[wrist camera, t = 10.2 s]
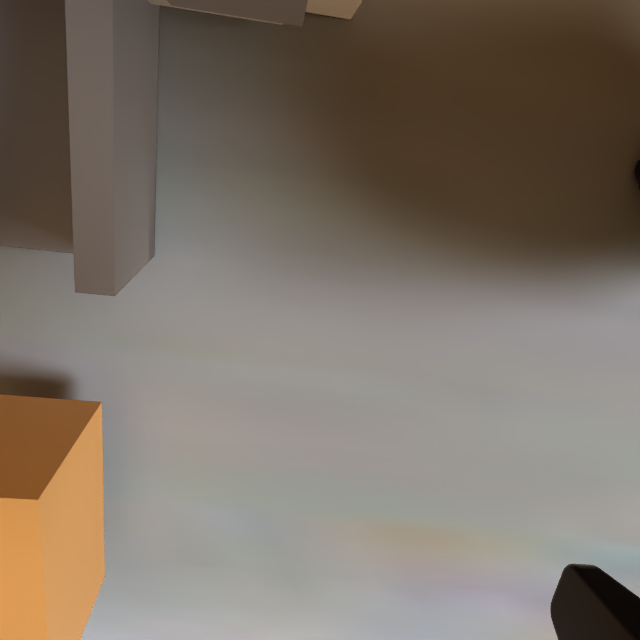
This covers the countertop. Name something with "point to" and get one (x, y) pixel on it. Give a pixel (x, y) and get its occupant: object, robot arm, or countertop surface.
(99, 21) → the socket box
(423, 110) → the countertop surface
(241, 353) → the countertop surface
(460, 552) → the countertop surface
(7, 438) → the plug
